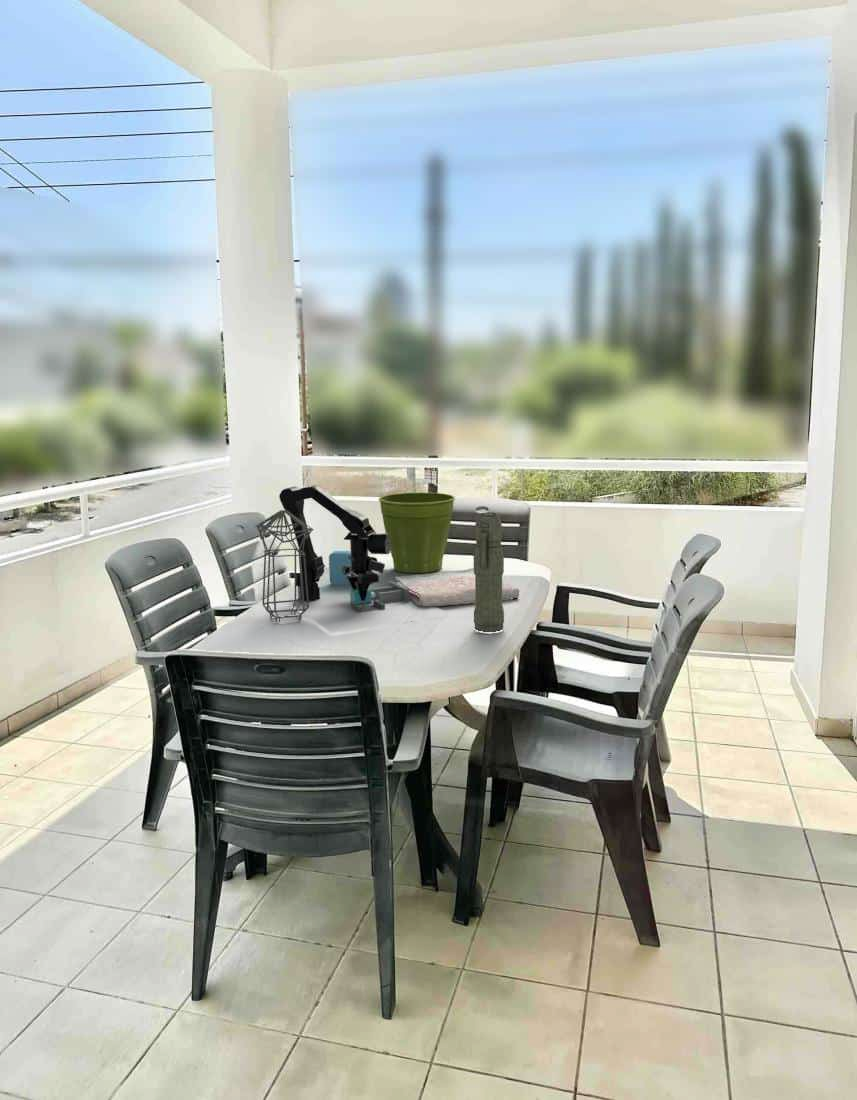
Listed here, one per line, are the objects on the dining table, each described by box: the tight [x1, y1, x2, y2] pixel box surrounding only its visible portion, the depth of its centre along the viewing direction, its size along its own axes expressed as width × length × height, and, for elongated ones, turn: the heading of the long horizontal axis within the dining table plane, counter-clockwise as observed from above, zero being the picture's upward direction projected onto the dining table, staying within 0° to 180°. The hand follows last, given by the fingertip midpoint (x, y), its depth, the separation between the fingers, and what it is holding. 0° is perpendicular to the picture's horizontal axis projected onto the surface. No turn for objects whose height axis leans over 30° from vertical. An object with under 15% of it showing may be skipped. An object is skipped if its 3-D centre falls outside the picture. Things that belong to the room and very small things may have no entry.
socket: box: [370, 580, 410, 604], centre depth 295 cm, size 9×14×5 cm, turn 26°
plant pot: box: [378, 492, 456, 574], centre depth 342 cm, size 30×30×29 cm
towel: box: [394, 567, 520, 608], centre depth 303 cm, size 36×34×6 cm
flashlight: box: [473, 512, 505, 632], centre depth 255 cm, size 9×12×35 cm
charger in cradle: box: [350, 599, 386, 613], centre depth 283 cm, size 9×7×2 cm
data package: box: [328, 550, 351, 586], centre depth 320 cm, size 12×4×12 cm, turn 79°
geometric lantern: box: [254, 509, 315, 623], centre depth 270 cm, size 16×16×35 cm
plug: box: [349, 588, 375, 605], centre depth 291 cm, size 8×4×4 cm, turn 116°
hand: (360, 598), depth 291 cm, fingers closed on plug, 4 cm apart
